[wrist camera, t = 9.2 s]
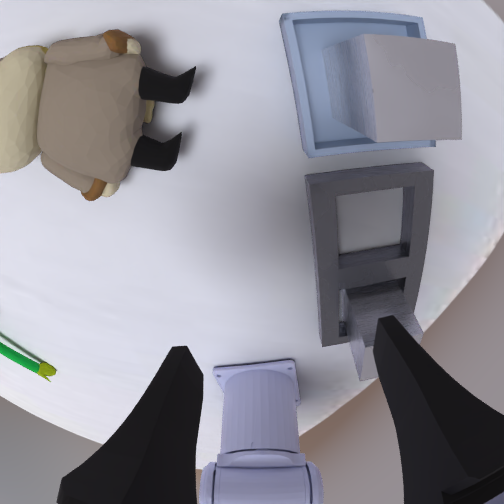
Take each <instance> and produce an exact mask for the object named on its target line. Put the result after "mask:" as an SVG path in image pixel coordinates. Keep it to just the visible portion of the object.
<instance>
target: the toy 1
mask: <svg viewBox="0 0 504 504" xmlns="http://www.w3.org/2000/svg"><path fill="white" fill-rule="evenodd" d="M0 353H1V354H2V355H4V356H6V357H7V358H9V359H11V360H13V361H14V362H16V363H18V364H20V365H22V366H23V367H25V368H27V369H29V370H31V371H33V372H35V373H37V374H38V375H40V376H41V377H43V378H45V379H47V380H48V381H50V380H49V379H48V378H47V377H46V376H53V375H55V374H56V371H55V368H54V367H52V366H51V365H49V364H48V363H45V362H44V363H40V364H39V363H37V362H35V361H33V360H31V359H29V358H27V357H25V356H23V355H22V354H20V353H18V352H16V351H14V350H13V349H11V348H9V347H7V346H6V345H4V344H2V343H1V342H0ZM50 382H51V381H50Z"/></svg>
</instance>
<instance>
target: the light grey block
mask: <svg viewBox="0 0 504 504" xmlns="http://www.w3.org/2000/svg"><path fill="white" fill-rule="evenodd" d="M322 55H323V61H324V67H325V72H326V78H327V85H328V91H329V98H330V105H331V112H332V118H333V119H335V120H337V121H339V122H341V123H343V124H345V125H347V126H348V127H350V128H352V129H354V130H356V131H358V132H359V133H361V134H363V135H365V136H366V137H368V138H370V139H372V140H373V141H375V142H377V143H380V142H395V141H415V140H462V114H461V92H460V79H459V69H458V60H457V53H456V46H455V44H453V43H447V42H442V41H436V40H429V39H422V38H414V37H405V36H394V35H379V34H362V35H359V36H356V37H354V38H351V39H348V40H346V41H343V42H340V43H338V44H335V45H333V46H330V47H328V48H325V49H323V50H322Z"/></svg>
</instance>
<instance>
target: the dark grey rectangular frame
mask: <svg viewBox="0 0 504 504" xmlns="http://www.w3.org/2000/svg"><path fill="white" fill-rule="evenodd" d="M433 177H434V170H432V169H431V168H429V167H428V166H426V165H425V164H423V163H422V162H421V163H408V164H396V165H386V166H376V167H367V168H358V169H349V170H341V171H333V172H326V173H319V174H312V175H305V180H306V188H307V196H308V205H309V213H310V222H311V232H312V242H313V252H314V264H315V276H316V289H317V303H318V319H319V334H320V339H321V344H322V347H326V346H331V345H337V344H342V343H347V342H349V340H348V336H347V333H346V329H345V326H344V323H343V322H340V323H339V290H342V289H348V288H353V287H358V286H364V285H369V284H374V283H379V282H384V281H389V280H394V279H396V282H397V284H398V285H399V287H400V289H401V291H402V293H403V294H404V296H405V298H406V300H407V302H408V304H409V306H410V308H411V309H412V311H413V313H414V309H415V305H416V301H417V296H418V292H419V287H420V282H421V277H422V272H423V266H424V260H425V254H426V248H427V241H428V233H429V225H430V216H431V206H432V193H433ZM400 187H404V191H403V215H402V230H401V242H400V244H399V245H394V246H388V247H382V248H377V249H371V250H365V251H359V252H353V253H347V254H342V255H338V231H337V214H336V199H335V196H338V195H346V194H353V193H360V192H368V191H376V190H384V189H392V188H400Z"/></svg>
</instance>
